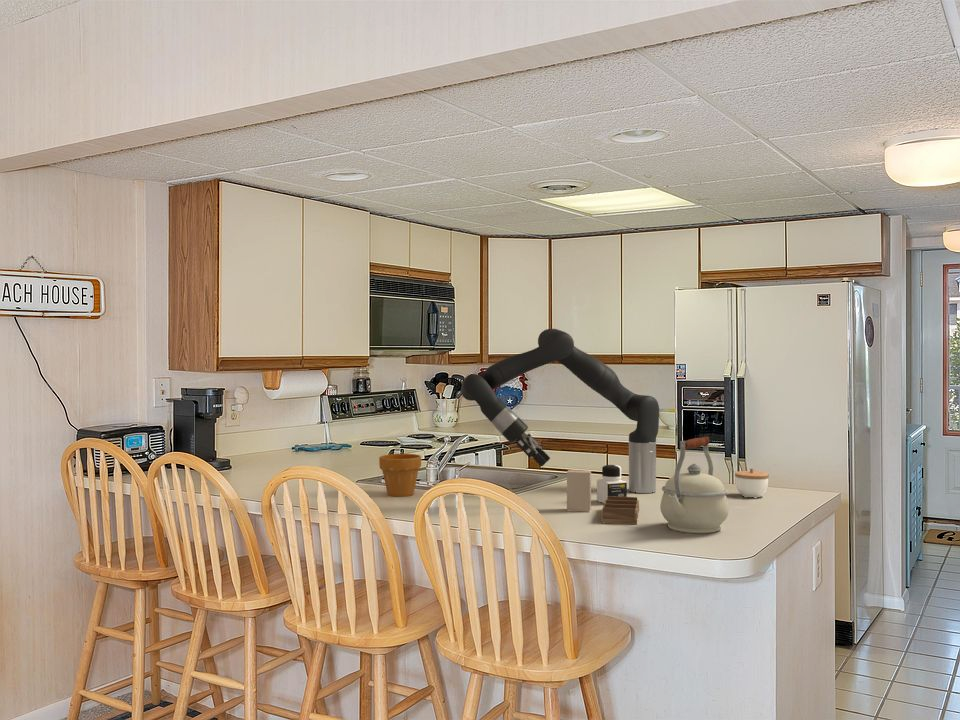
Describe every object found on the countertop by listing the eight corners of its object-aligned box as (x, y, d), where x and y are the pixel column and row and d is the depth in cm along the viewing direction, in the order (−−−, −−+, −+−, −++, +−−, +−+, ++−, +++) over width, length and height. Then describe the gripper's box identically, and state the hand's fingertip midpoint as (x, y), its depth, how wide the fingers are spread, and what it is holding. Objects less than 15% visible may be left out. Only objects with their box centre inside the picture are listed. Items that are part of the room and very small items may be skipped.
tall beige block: (568, 508, 265) (568, 470, 265) (591, 509, 263) (591, 470, 263) (566, 511, 261) (566, 472, 261) (589, 512, 259) (589, 472, 259)
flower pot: (374, 497, 284) (373, 458, 284) (386, 490, 298) (386, 453, 298) (415, 498, 282) (415, 459, 282) (425, 491, 296) (425, 454, 296)
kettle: (681, 517, 251) (681, 433, 251) (741, 526, 239) (742, 437, 239) (639, 532, 232) (639, 440, 231) (703, 542, 220) (703, 445, 220)
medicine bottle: (607, 505, 270) (607, 467, 270) (596, 501, 277) (596, 464, 277) (627, 503, 273) (627, 466, 273) (615, 500, 280) (615, 463, 279)
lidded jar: (735, 498, 282) (735, 470, 282) (734, 493, 292) (734, 465, 292) (769, 499, 279) (770, 471, 279) (767, 494, 290) (767, 466, 290)
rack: (605, 509, 263) (606, 495, 263) (638, 510, 261) (639, 497, 261) (601, 522, 244) (601, 508, 244) (636, 524, 242) (636, 509, 242)
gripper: (513, 418, 259) (551, 457, 257) (521, 414, 273) (557, 451, 270) (496, 435, 260) (534, 474, 258) (505, 430, 274) (541, 467, 272)
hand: (546, 462), depth 264 cm, fingers open, 8 cm apart
